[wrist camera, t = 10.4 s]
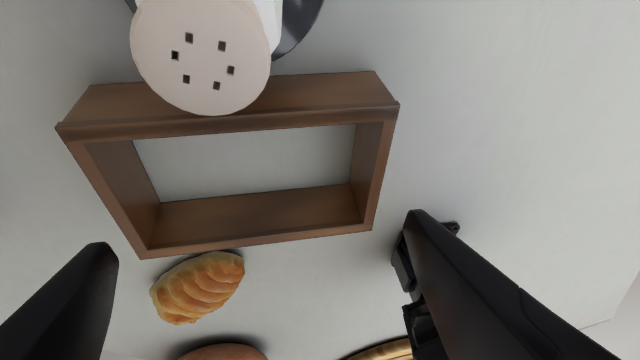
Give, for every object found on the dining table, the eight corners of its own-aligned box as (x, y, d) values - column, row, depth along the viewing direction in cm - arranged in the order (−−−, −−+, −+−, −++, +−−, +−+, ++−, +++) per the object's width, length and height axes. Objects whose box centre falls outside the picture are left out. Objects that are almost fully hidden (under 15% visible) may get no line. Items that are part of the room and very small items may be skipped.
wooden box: (375, 69, 20) (400, 104, 17) (356, 189, 27) (371, 230, 24) (88, 82, 17) (53, 127, 14) (153, 211, 25) (140, 260, 21)
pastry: (205, 234, 28) (201, 273, 25) (262, 258, 32) (264, 294, 29) (146, 282, 31) (137, 321, 28) (205, 298, 35) (203, 333, 32)
